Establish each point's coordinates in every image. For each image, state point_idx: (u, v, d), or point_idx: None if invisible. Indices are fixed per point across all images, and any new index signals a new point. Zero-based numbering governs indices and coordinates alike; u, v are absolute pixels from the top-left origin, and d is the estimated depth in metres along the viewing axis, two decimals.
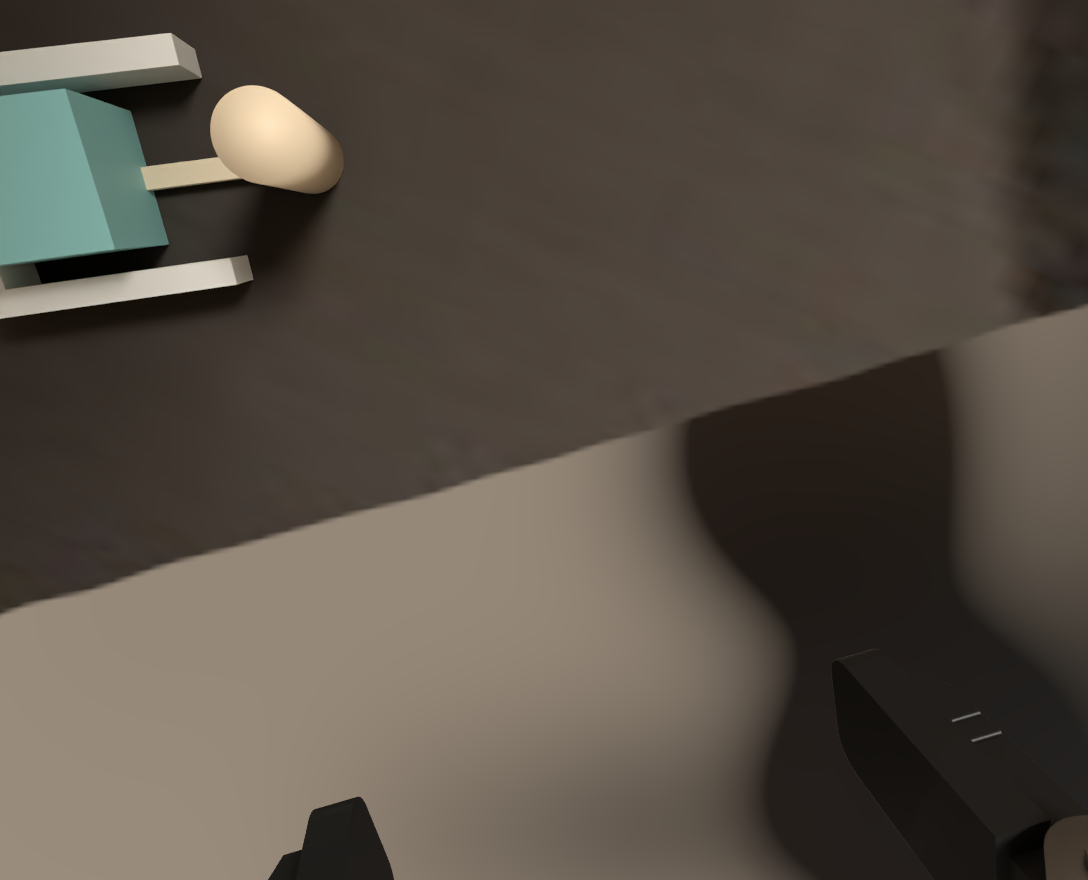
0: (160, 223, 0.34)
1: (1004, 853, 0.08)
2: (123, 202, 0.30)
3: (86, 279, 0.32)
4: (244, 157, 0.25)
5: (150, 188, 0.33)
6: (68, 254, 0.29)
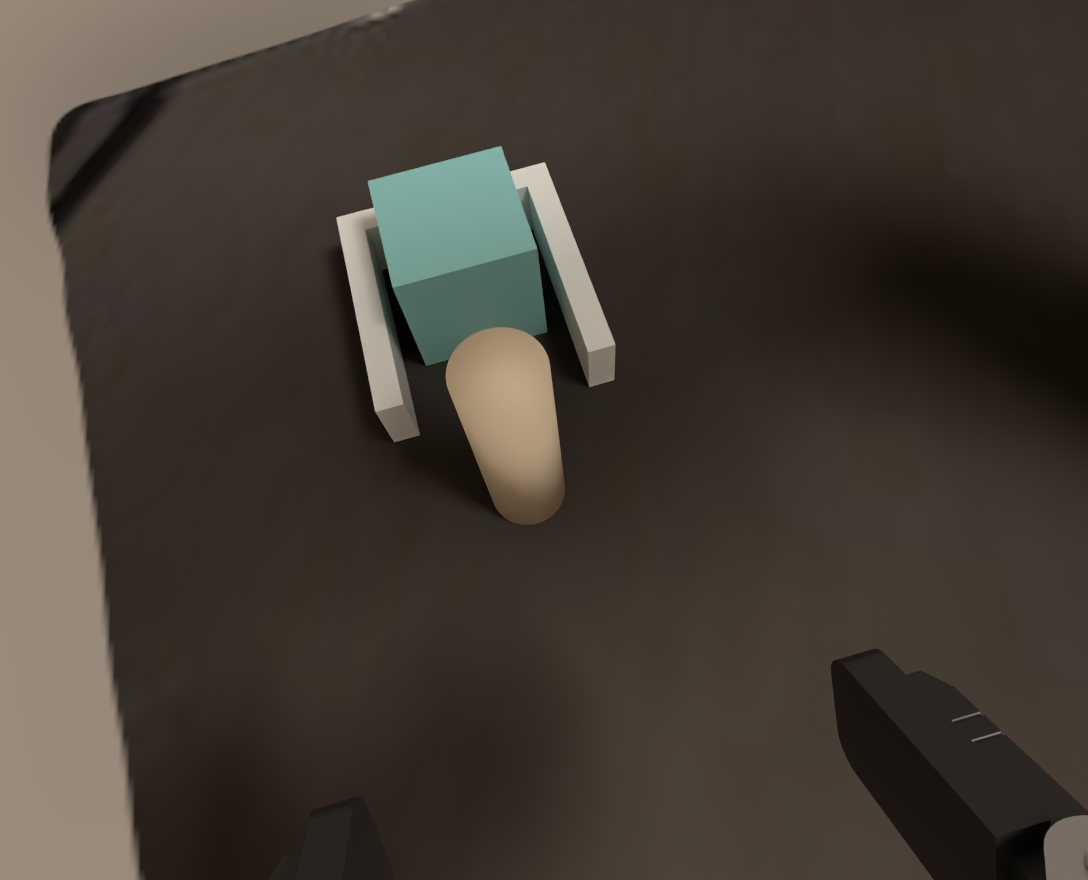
0: (445, 356, 0.33)
1: (1004, 853, 0.08)
2: (448, 307, 0.30)
3: (376, 286, 0.32)
4: (472, 359, 0.22)
5: None
6: (385, 253, 0.29)
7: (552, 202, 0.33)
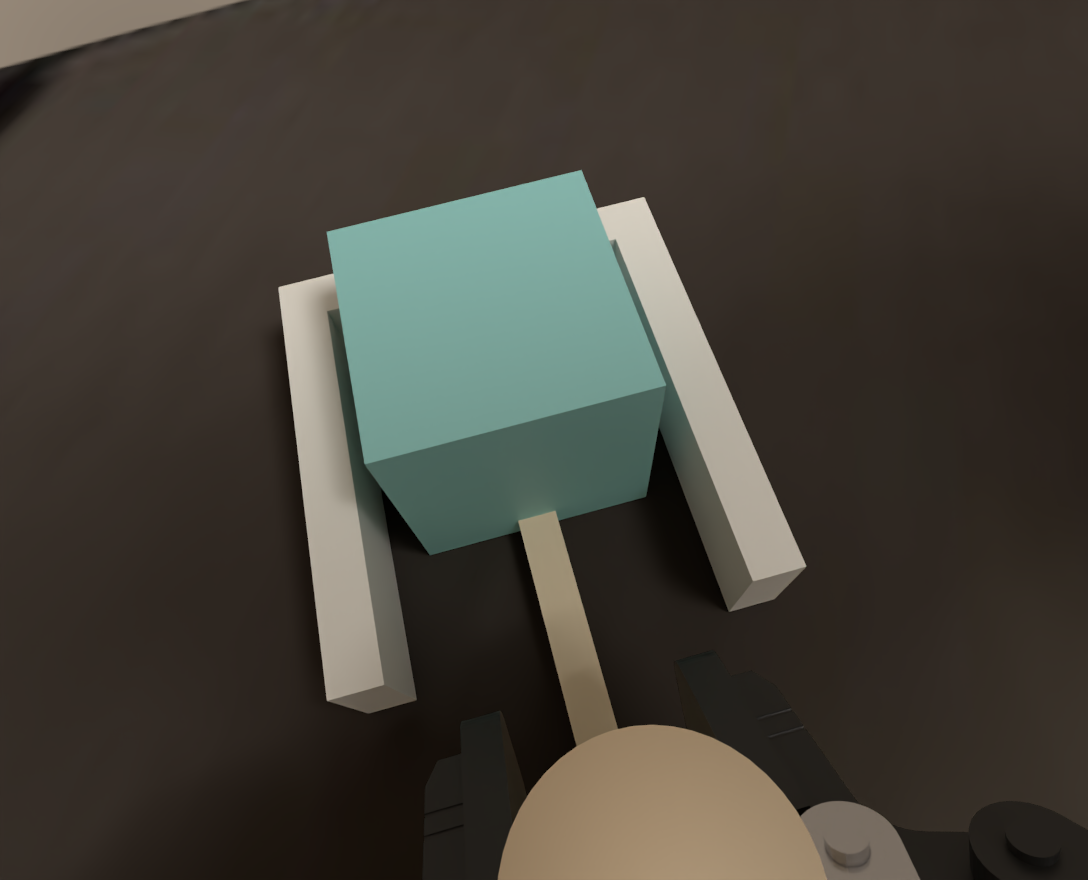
0: (464, 541, 0.19)
1: None
2: (476, 482, 0.16)
3: (342, 422, 0.17)
4: (578, 848, 0.07)
5: (521, 526, 0.18)
6: (353, 384, 0.14)
7: (661, 269, 0.19)
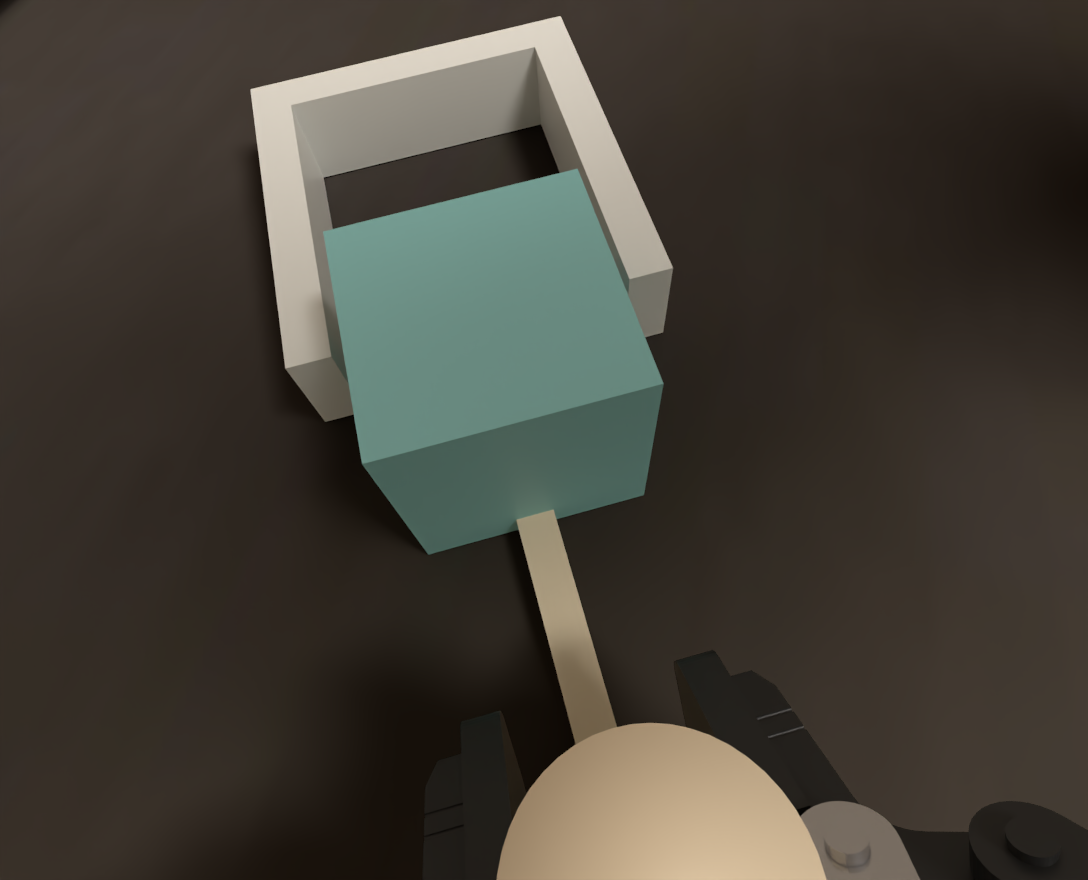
0: (462, 540, 0.19)
1: None
2: (474, 481, 0.16)
3: (301, 182, 0.21)
4: (577, 845, 0.07)
5: (519, 525, 0.18)
6: (350, 384, 0.14)
7: (571, 67, 0.22)
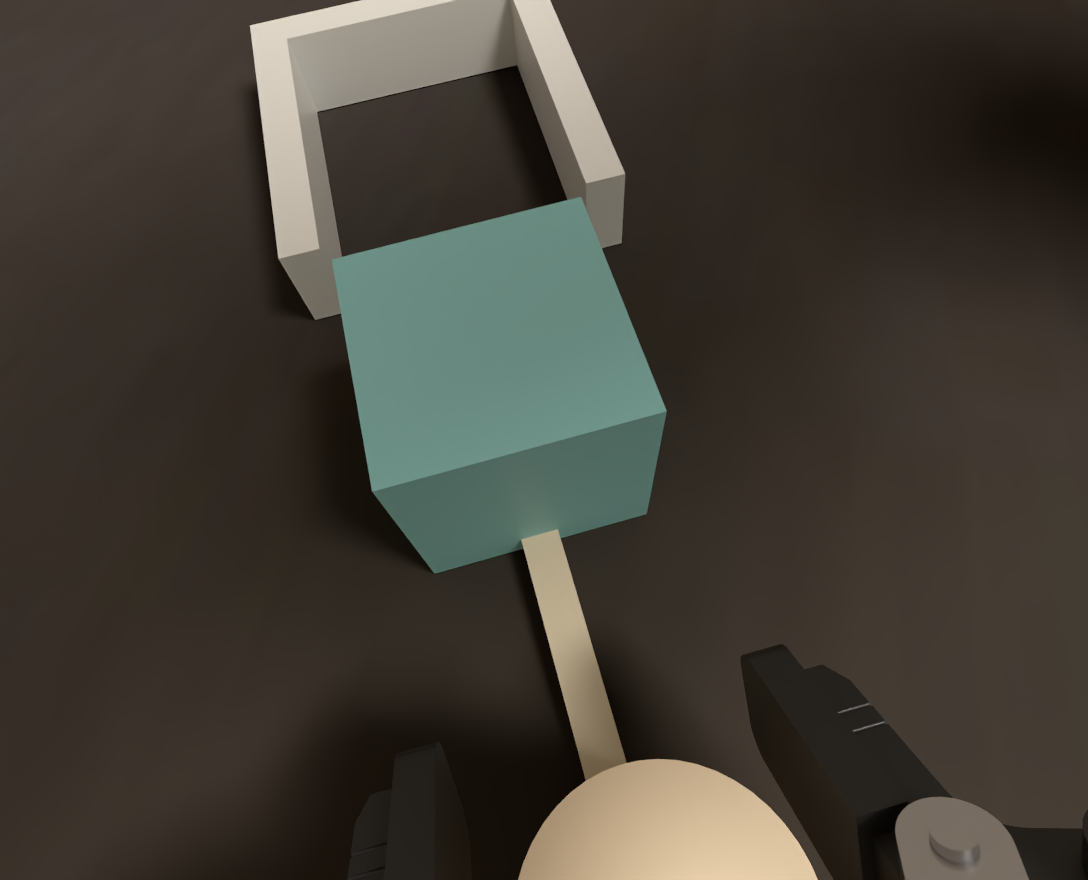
0: (468, 560, 0.19)
1: (866, 832, 0.09)
2: (480, 504, 0.16)
3: (295, 104, 0.23)
4: None
5: (524, 545, 0.18)
6: (360, 412, 0.15)
7: (541, 5, 0.25)
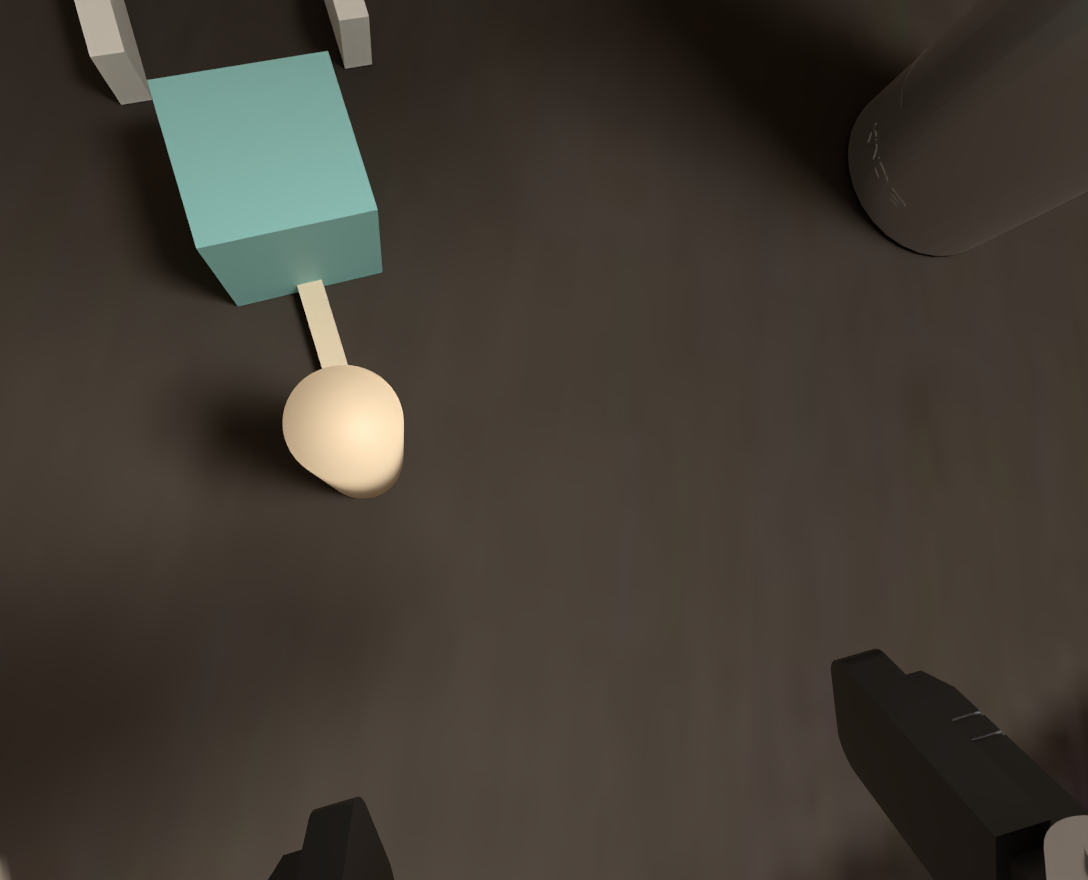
0: (261, 297, 0.29)
1: (1004, 853, 0.08)
2: (266, 260, 0.26)
3: None
4: (313, 406, 0.19)
5: (299, 289, 0.29)
6: (182, 196, 0.23)
7: None
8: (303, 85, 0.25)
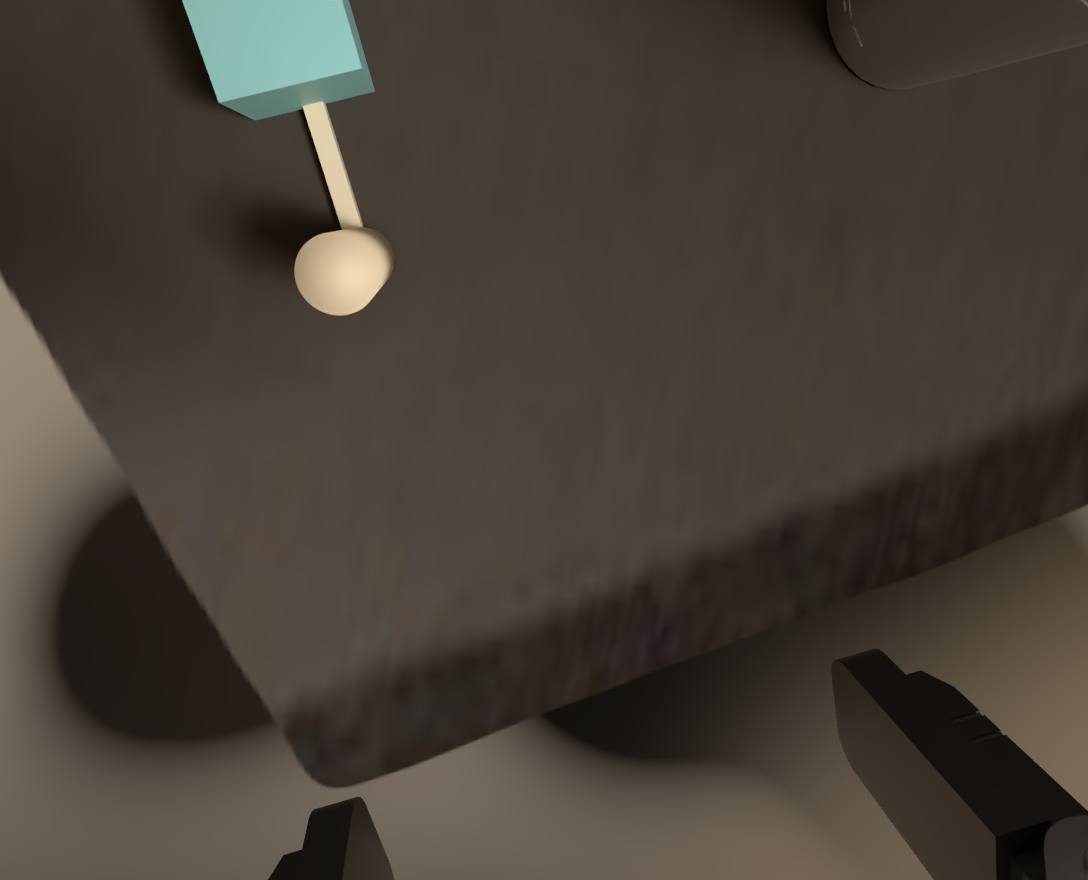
0: (274, 114, 0.34)
1: (1004, 853, 0.08)
2: (275, 99, 0.31)
3: None
4: (315, 262, 0.28)
5: (304, 110, 0.34)
6: (202, 54, 0.28)
7: None
8: None
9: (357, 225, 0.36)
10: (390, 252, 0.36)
